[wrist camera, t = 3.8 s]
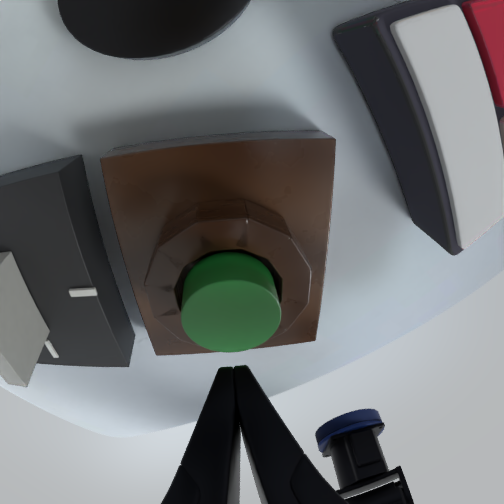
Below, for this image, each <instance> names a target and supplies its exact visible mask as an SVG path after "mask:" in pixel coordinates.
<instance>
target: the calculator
mask: <svg viewBox="0 0 504 504" xmlns="http://www.w3.org/2000/svg"><path fill="white" fill-rule="evenodd" d="M333 36H334V39H335V41H336V43H337V44H338V46H339V48H340V50H341V51H342V53H343V55H344V57H345V59H346V61H347V62H348V64H349V66H350V68H351V70H352V72H353V74H354V76H355V78H356V80H357V82H358V84H359V86H360V88H361V90H362V92H363V94H364V96H365V98H366V100H367V102H368V104H369V106H370V109H371V111H372V113H373V115H374V117H375V120H376V122H377V124H378V127H379V129H380V131H381V134H382V136H383V138H384V141H385V143H386V146H387V148H388V151H389V153H390V156H391V159H392V161H393V164H394V167H395V169H396V172H397V175H398V178H399V181H400V183H401V186H402V189H403V192H404V195H405V198H406V201H407V205H408V208H409V211H410V214H411V218H412V221H413V223H414V224H415V225H416V226H418V227H419V228H420V229H421V230H422V231H424V232H425V233H426V234H427V235H428V236H430V237H431V238H432V239H433V240H434V241H436V242H437V243H438V244H439V245H440V246H441V247H443V248H444V249H445V250H446V251H447V252H448V253H450V254H451V255H457V254H459V253H460V252H461V251H463V250H464V249H465V248H467V247H468V246H469V245H471V244H472V243H473V242H474V241H476V240H477V239H478V238H479V237H480V236H482V235H483V234H484V233H485V232H487V231H488V230H489V229H490V228H491V227H492V226H494V225H495V224H496V223H497V222H498V221H499V220H500V219H502V218H503V217H504V0H411V1H407V2H403V3H400V4H397V5H393V6H390V7H387V8H384V9H381V10H378V11H375V12H372V13H370V14H367V15H364V16H361V17H359V18H356V19H353V20H351V21H348V22H346V23H343V24H341V25H339V26H337V27H336V28H335V29H334V31H333Z"/></svg>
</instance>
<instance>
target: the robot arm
mask: <svg viewBox="0 0 504 504" xmlns="http://www.w3.org/2000/svg"><path fill="white" fill-rule="evenodd" d="M384 426H385V425H384V423H383V422H382V423H378V424H375V425H371V426H368V427H364V428H360V429H356V430H352V431H348V432H344V433H340V434H336V435H332V436H331V437H330V438H329V440H328V443H327V445H326V447H325V449H324V451H323V453H322V455H323V457H329V456H331V457H332V460H333V464H334V468H335V471H336V475H337V479H338V483H339V486H340V490H337V491H335V490H334V489H333V488H332V487H331V486H330V484H329V483H328V482H327V481H326V480H325V479H324V478H323V477H322V475H321V474H320V473H319V472H318V470H317V469H316V468H315V467H314V465H313V464H312V462H311V461H310V460H309V458H308V457H307V455H306V454H304V452H303V450H302V448H301V447H300V446H299V444H298V443H297V441H296V440H295V438H294V437H293V435H292V434H291V432H290V431H289V429H288V428H287V426H286V425H285V423H284V422H283V420H282V419H281V417H280V416H279V414H278V413H277V411H276V410H275V408H274V407H273V405H272V404H271V402H270V400H269V399H268V397H267V396H266V394H265V393H264V391H263V390H262V388H261V386H260V385H259V383H258V382H257V380H256V378H255V377H254V375H253V374H252V372H251V370H250V369H249V367H248V366H246V365H242V366H235V367H234V368H233V367H221V368H219V369H218V371H217V374H216V376H215V379H214V381H213V384H212V386H211V389H210V391H209V394H208V396H207V399H206V401H205V404H204V406H203V409H202V411H201V414H200V416H199V419H198V421H197V424H196V426H195V429H194V431H193V434H192V436H191V439H190V441H189V444H188V446H187V448H186V451H185V453H184V456H183V458H182V461H181V465H180V466H179V468H178V470H177V472H176V475H175V477H174V479H173V481H172V484H171V486H170V488H169V490H168V492H167V494H166V496H165V497H164V499H163V501H162V503H161V504H239V495H240V492H239V491H240V441H241V432H242V436H243V441H244V444H245V448H246V452H247V455H248V459H249V462H250V466H251V470H252V473H253V477H254V480H255V483H256V487H257V490H258V494H259V497H260V500H261V503H262V504H414V502H413V499H412V496H411V493H410V490H409V488H408V485H407V482H406V480H405V477H404V474H403V471H402V469H401V466H398V467H396V468H395V469H393V470H390V471H389V469H388V466H387V463H386V461H385V458H384V456H383V452H382V449H381V447H380V444H379V441H378V438H377V436H378V435H379V434H380V432H381V431H382V429H383V428H384ZM240 427H241V431H240ZM397 478H399V479H400V481H398V482H395V483H394V482H391V483H388V482H390V481H392V480H395V479H397ZM385 483H388V484H386V485H383V484H385ZM380 485H383V486H381V487H378V486H380ZM375 487H378V488H376V489H373V490H370V489H372V488H375ZM367 490H370V491H368V492H365V493H362V492H364V491H367ZM359 493H362V494H359ZM356 494H359V495H357V496H353V495H356ZM350 496H353V497H350ZM347 497H350V498H348V499H344V498H347Z"/></svg>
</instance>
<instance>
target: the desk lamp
mask: <svg viewBox="0 0 504 504" xmlns="http://www.w3.org/2000/svg"><path fill="white" fill-rule="evenodd" d="M250 1H251V0H58V7H59V11H60V15H61V17H62V20H63V22H64V24H65V26H66V27H67V29H68V31H69V32H70V33H71V34H72V35H73V36H74V37H75V38H76V39H77V40H78V41H79V42H81V43H82V44H83V45H85V46H86V47H88V48H90V49H92V50H94V51H96V52H99V53H102V54H104V55H109V56H113V57H118V58H124V59H133V60H152V59H161V58H166V57H171V56H175V55H178V54H181V53H185V52H188V51H190V50H192V49H195V48H197V47H199V46H201V45H203V44H205V43H207V42H209V41H211V40H212V39H214V38H215V37H217V36H218V35H220V34H221V33H222V32H224V31H225V30H226V29H227V28H228V27H230V26H231V25H232V24H233V23H234V22H235V21H236V20H237V19H238V18H239V17H240V15H241V14H242V13H243V11H244V10H245V9H246V7H247V6H248V4H249V2H250Z"/></svg>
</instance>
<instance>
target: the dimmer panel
mask: <svg viewBox="0 0 504 504" xmlns="http://www.w3.org/2000/svg"><path fill="white" fill-rule="evenodd" d="M9 251H11V252H12V255H13V257H14V259H15V262H16V264H17V266H18V269H19V271H20V273H21V276H22V278H23V280H24V282H25V284H26V286H27V288H28V291H29V293H30V295H31V297H32V299H33V301H34V303H35V305H36V307H37V308H38V310H39V312H40V314H41V316H42V318H43V320H44V322H45V323H46V325H47V327H48V329H49V330H50V332H49V334H48V337H47V339H46V341H45V343H44V346H43V348H42V350H41V353H40V355H39V358H38V360H37V363H39V364H52V365H68V366H92V367H129V364H130V359H131V354H132V349H133V344H134V339H135V333H134V331H133V328H132V326H131V323H130V321H129V318H128V316H127V313H126V310H125V308H124V305H123V302H122V299H121V297H120V294H119V291H118V288H117V285H116V282H115V279H114V276H113V273H112V270H111V267H110V264H109V261H108V257H107V254H106V251H105V248H104V244H103V241H102V237H101V234H100V230H99V227H98V223H97V219H96V215H95V211H94V208H93V204H92V199H91V195H90V191H89V187H88V182H87V178H86V173H85V168H84V163H83V158H82V155H78V156H73V157H69V158H64V159H60V160H56V161H52V162H48V163H44V164H40V165H36V166H33V167H29V168H25V169H22V170H18V171H15V172H12V173H8V174H5V175H2V176H0V253H2V252H9Z"/></svg>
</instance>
